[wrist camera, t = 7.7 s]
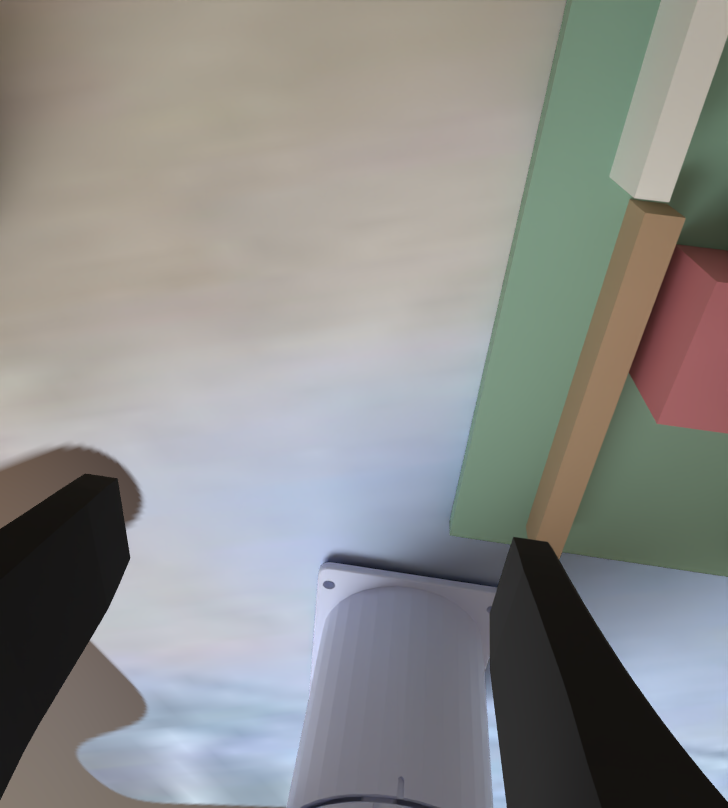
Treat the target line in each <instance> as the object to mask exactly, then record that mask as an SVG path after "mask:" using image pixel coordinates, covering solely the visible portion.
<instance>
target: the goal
mask: <svg viewBox="0 0 728 808" xmlns="http://www.w3.org/2000/svg"><path fill="white" fill-rule="evenodd" d="M727 37H728V0H661V2H660V5H659V9H658V12H657V16H656V19H655V22H654V26H653V29H652V33H651V36H650V39H649V43H648V46H647V50H646V53H645V56H644V60H643V63H642V67H641V70H640V73H639V77H638V80H637V84H636V87H635V91H634V94H633V97H632V101H631V104H630V108H629V111H628V114H627V118H626V121H625V125H624V128H623V131H622V135H621V138H620V142H619V145H618V148H617V152H616V155H615V159H614V162H613V165H612V169H611V172H610V176H609V177H610V178H611V179H612V180H613V181H615V182H616V183H617V184H618V185H619V186H620V187H622V188H623V189H624V190H625V191H626V192H627V193H629V194H630V195H631V196H632V197H633V198H637V199H645V200H653V201H661V202H670V199H671V196H672V193H673V190H674V187H675V184H676V182H677V179H678V176H679V173H680V170H681V167H682V165H683V162H684V159H685V156H686V153H687V150H688V147H689V145H690V142H691V139H692V136H693V133H694V130H695V128H696V125H697V122H698V119H699V116H700V113H701V111H702V108H703V105H704V102H705V99H706V96H707V93H708V91H709V88H710V85H711V82H712V79H713V76H714V74H715V71H716V68H717V65H718V62H719V59H720V56H721V54H722V51H723V48H724V45H725V42H726V39H727Z"/></svg>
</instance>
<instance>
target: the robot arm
mask: <svg viewBox="0 0 728 808" xmlns="http://www.w3.org/2000/svg"><path fill="white" fill-rule="evenodd" d="M129 560H130V553H129V547H128V541H127V535H126V528H125V522H124V516H123V511H122V503H121V497H120V491H119V485H118V479H117V478H111V477H104V476H98V475H91V474H84V475H83V476H81V477H79V478H77V479H76V480H74V481H73V482H71V483H70V484H68V485H67V486H65V487H63V488H62V489H60V490H59V491H57V492H56V493H55V494H53V495H51V496H50V497H48V498H47V499H45V500H44V501H42V502H41V503H39V504H38V505H36V506H35V507H33V508H32V509H30V510H29V511H27V512H26V513H24V514H23V515H21V516H20V517H18V518H16V519H15V520H13V521H12V522H10V523H9V524H7V525H6V526H4V527H3V528H1V529H0V800H1V798H2V795H3V793H4V791H5V789H6V787H7V785H8V783H9V781H10V779H11V777H12V775H13V773H14V771H15V769H16V767H17V765H18V762H19V760H20V758H21V756H22V754H23V752H24V750H25V749H26V747H27V745H28V743H29V741H30V740H31V738H32V736H33V734H34V732H35V730H36V729H37V727H38V725H39V723H40V722H41V720H42V718H43V717H44V715H45V713H46V712H47V710H48V708H49V707H50V705H51V704H52V702H53V700H54V699H55V696H56V695H57V694H58V692H59V690H60V689H61V687H62V685H63V683H64V682H65V680H66V679H67V677H68V675H69V674H70V672H71V670H72V669H73V667H74V665H75V664H76V662H77V660H78V659H79V657H80V655H81V654H82V652H83V651H84V649H85V647H86V645H87V644H88V642H89V640H90V639H91V637H92V635H93V634H94V632H95V630H96V629H97V627H98V625H99V624H100V622H101V620H102V618H103V617H104V615H105V613H106V612H107V610H108V608H109V606H110V603H111V601H112V599H113V597H114V595H115V593H116V590H117V588H118V586H119V584H120V581H121V579H122V577H123V574H124V572H125V570H126V567H127V565H128V562H129ZM328 581H332V582H328ZM490 606H492V607H490ZM489 657H490V673H491V682H492V690H493V699H494V707H495V715H496V723H497V731H498V739H499V747H500V755H501V763H502V771H503V779H504V787H505V795H506V803H507V808H728V802H727V801H726V799H725V798H724V797H723V796H722V795H721V794H720V792H719V791H718V790H717V789H716V788H715V786H714V785H713V784H712V783H711V782H710V781H709V779H708V778H707V777H706V776H705V775H704V773H703V772H702V771H701V770H700V768H699V767H698V766H697V765H696V763H695V762H694V761H693V760H692V758H691V757H690V756H689V755H688V753H687V752H686V751H685V750H684V749H683V747H682V746H681V745H680V744H679V742H678V741H677V740H676V738H675V737H674V736H673V734H672V733H671V732H670V730H669V729H668V728H667V727H666V725H665V724H664V723H663V721H662V720H661V718H660V717H659V716H658V714H657V713H656V712H655V710H654V709H653V708H652V706H651V705H650V703H649V702H648V701H647V699H646V698H645V696H644V695H643V694H642V692H641V691H640V689H639V688H638V686H637V685H636V684H635V682H634V681H633V679H632V678H631V676H630V675H629V673H628V672H627V671H626V669H625V668H624V666H623V665H622V663H621V662H620V660H619V659H618V657H617V655H616V654H615V652H614V651H613V649H612V648H611V646H610V645H609V643H608V641H607V640H606V638H605V637H604V635H603V634H602V632H601V631H600V629H599V627H598V626H597V624H596V623H595V621H594V619H593V618H592V616H591V614H590V613H589V611H588V609H587V608H586V606H585V604H584V603H583V601H582V599H581V598H580V596H579V594H578V592H577V591H576V589H575V587H574V586H573V584H572V582H571V580H570V579H569V577H568V575H567V573H566V572H565V570H564V568H563V566H562V564H561V563H560V561H559V559H558V557H557V555H556V554H555V552H554V550H553V548H552V547H551V545H550V544H549V543H548V542H546V541H539V540H532V539H526V538H519V537H513V539H512V542H511V545H510V549H509V552H508V555H507V558H506V562H505V565H504V568H503V571H502V575H501V578H500V581H499V584H498V588H497V587H491V586H484V585H478V584H471V583H464V582H458V581H451V580H445V579H438V578H432V577H425V576H418V575H412V574H405V573H399V572H392V571H386V570H379V569H372V568H366V567H359V566H353V565H346V564H340V563H333V562H327V563H324V564H322V565H321V566H320V569H319V573H318V584H317V597H316V611H315V624H314V637H313V650H312V663H311V676H310V689H309V699H308V704H307V709H306V714H305V719H304V723H303V728H302V733H301V738H300V743H299V748H298V753H297V758H296V763H295V768H294V772H293V777H292V782H291V787H290V792H289V797H288V802H287V807H286V808H493V796H492V780H491V765H490V749H489V733H488V718H487V702H486V686H485V670H486V667H487V664H488V660H489Z"/></svg>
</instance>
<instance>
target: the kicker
mask: <svg viewBox="0 0 728 808" xmlns="http://www.w3.org/2000/svg"><path fill="white" fill-rule="evenodd" d="M629 374H630V376H631V378H632V379H633V381H634V383H635V385H636V387H637V388H638V390H639V392H640V394H641V396H642V398H643V399H644V401H645V403H646V405H647V407H648V408H649V410H650V412H651V414H652V416H653V418H654V419H655V421H656V423H657V424H662V425H669V426H676V427H683V428H691V429H698V430H705V431H712V432H720V433H727V434H728V251H727V250H719V249H710V248H702V247H694V246H686V245H678V244H676V246H675V249H674V251H673V254H672V257H671V260H670V262H669V265H668V268H667V270H666V273H665V276H664V278H663V281H662V284H661V286H660V289H659V292H658V295H657V297H656V300H655V303H654V305H653V308H652V311H651V313H650V316H649V319H648V322H647V324H646V327H645V330H644V332H643V335H642V338H641V340H640V343H639V346H638V349H637V351H636V354H635V357H634V359H633V362H632V365H631V367H630V370H629Z"/></svg>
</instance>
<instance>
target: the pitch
mask: <svg viewBox="0 0 728 808" xmlns="http://www.w3.org/2000/svg"><path fill="white" fill-rule="evenodd" d="M660 2H661V0H567V2H566V6H565V11H564V15H563V20H562V24H561V29H560V33H559V38H558V42H557V46H556V51H555V55H554V60H553V64H552V69H551V73H550V77H549V82H548V86H547V91H546V95H545V100H544V104H543V109H542V113H541V117H540V122H539V126H538V131H537V135H536V140H535V144H534V148H533V153H532V157H531V162H530V166H529V171H528V175H527V180H526V184H525V188H524V193H523V197H522V202H521V206H520V211H519V215H518V219H517V224H516V228H515V233H514V237H513V242H512V246H511V251H510V255H509V259H508V264H507V268H506V273H505V277H504V282H503V286H502V290H501V295H500V299H499V304H498V308H497V313H496V317H495V322H494V326H493V330H492V335H491V339H490V344H489V348H488V353H487V357H486V361H485V366H484V370H483V375H482V379H481V384H480V388H479V393H478V397H477V401H476V406H475V410H474V415H473V419H472V424H471V428H470V432H469V437H468V441H467V446H466V450H465V455H464V459H463V464H462V468H461V472H460V477H459V481H458V486H457V490H456V495H455V499H454V503H453V508H452V512H451V517H450V521H449V523H450V536H457V537H463V538H470V539H477V540H483V541H490V542H497V543H504V544H510V545H511V542H512V539H513V537H519V538H526V539H532V540H539V541H546V542H548V543H549V544H550V545H551V547H552V548H553V550H554V552H555V554H556V555H557V557H558V559H560V556H561V553H562V552H564V553H571V554H578V555H584V556H591V557H598V558H605V559H611V560H618V561H625V562H631V563H638V564H645V565H652V566H658V567H665V568H672V569H679V570H685V571H692V572H699V573H705V574H712V575H719V576H726V577H728V434H727V433H720V432H712V431H705V430H698V429H691V428H683V427H676V426H669V425H662V424H657V423H656V421H655V419H654V418H653V416H652V414H651V412H650V410H649V408H648V407H647V405H646V403H645V401H644V399H643V398H642V396H641V394H640V392H639V390H638V388H637V387H636V385H635V383H634V381H633V379H632V378H631V376H630V374H629V370H630V367H631V365H632V362H633V359H634V357H635V354H636V351H637V349H638V346H639V343H640V340H641V338H642V335H643V332H644V330H645V327H646V324H647V322H648V319H649V316H650V313H651V311H652V308H653V305H654V303H655V300H656V297H657V295H658V292H659V289H660V286H661V284H662V281H663V278H664V276H665V273H666V270H667V268H668V265H669V262H670V260H671V257H672V254H673V251H674V249H675V246H676V244H678V245H686V246H694V247H702V248H710V249H719V250H727V251H728V37H727V39H726V42H725V45H724V48H723V51H722V54H721V56H720V59H719V62H718V65H717V68H716V71H715V74H714V76H713V79H712V82H711V85H710V88H709V91H708V93H707V96H706V99H705V102H704V105H703V108H702V111H701V113H700V116H699V119H698V122H697V125H696V128H695V130H694V133H693V136H692V139H691V142H690V145H689V147H688V150H687V153H686V156H685V159H684V162H683V165H682V167H681V170H680V173H679V176H678V179H677V182H676V184H675V187H674V190H673V193H672V196H671V199H670V202H661V201H653V200H645V199H637V198H633V197H632V196H631V195H630V194H629V193H627V192H626V191H625V190H624V189H623V188H622V187H620V186H619V185H618V184H617V183H616V182H615V181H613V180H612V179H611V178H610V177H609V176H610V172H611V169H612V165H613V162H614V159H615V155H616V152H617V148H618V145H619V142H620V138H621V135H622V131H623V128H624V125H625V121H626V118H627V114H628V111H629V108H630V104H631V101H632V97H633V94H634V91H635V87H636V84H637V80H638V77H639V73H640V70H641V67H642V63H643V60H644V56H645V53H646V50H647V46H648V43H649V39H650V36H651V33H652V29H653V26H654V22H655V19H656V16H657V12H658V9H659V5H660Z"/></svg>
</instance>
